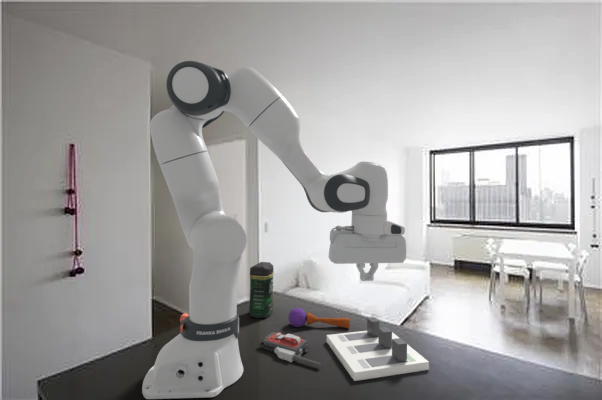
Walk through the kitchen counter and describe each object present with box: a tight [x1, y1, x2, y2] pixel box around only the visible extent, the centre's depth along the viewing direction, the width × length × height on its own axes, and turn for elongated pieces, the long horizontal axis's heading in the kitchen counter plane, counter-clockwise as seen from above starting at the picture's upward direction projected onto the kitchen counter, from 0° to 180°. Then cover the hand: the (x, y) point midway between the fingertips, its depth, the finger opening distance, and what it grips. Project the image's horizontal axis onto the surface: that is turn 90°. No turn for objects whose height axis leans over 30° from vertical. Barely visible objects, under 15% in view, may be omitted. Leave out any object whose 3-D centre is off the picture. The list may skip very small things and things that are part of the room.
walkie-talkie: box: [259, 331, 322, 367], centre depth 86 cm, size 9×4×20 cm
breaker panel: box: [326, 330, 430, 382], centre depth 85 cm, size 20×20×2 cm
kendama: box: [288, 307, 351, 329], centre depth 103 cm, size 6×6×20 cm
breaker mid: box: [378, 326, 393, 348], centre depth 86 cm, size 2×3×4 cm
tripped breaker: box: [392, 337, 408, 361], centre depth 79 cm, size 2×3×4 cm
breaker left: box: [366, 316, 380, 336], centre depth 93 cm, size 2×3×4 cm
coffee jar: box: [248, 261, 275, 319], centre depth 113 cm, size 10×8×19 cm
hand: (366, 280), depth 80 cm, fingers closed
